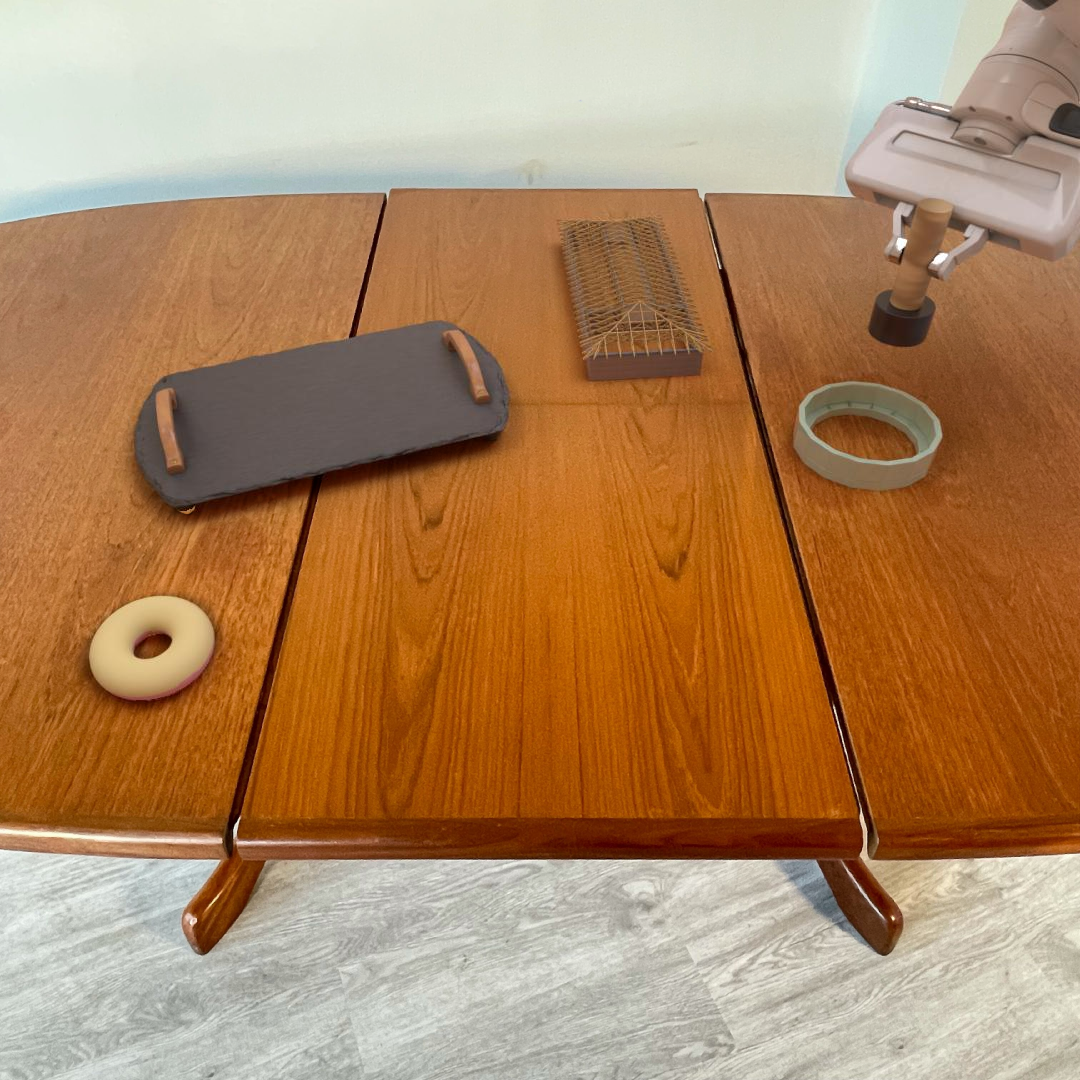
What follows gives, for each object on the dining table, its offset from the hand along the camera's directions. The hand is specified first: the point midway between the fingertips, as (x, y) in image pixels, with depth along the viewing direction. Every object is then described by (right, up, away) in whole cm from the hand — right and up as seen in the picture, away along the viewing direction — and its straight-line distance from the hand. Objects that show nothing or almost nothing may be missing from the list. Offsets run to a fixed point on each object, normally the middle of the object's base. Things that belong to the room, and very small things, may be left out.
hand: (913, 268), depth 76 cm
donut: (-64, -33, -4) cm, 72 cm away
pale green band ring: (-1, -16, +12) cm, 20 cm away
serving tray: (-55, -11, +18) cm, 59 cm away
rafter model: (-22, +6, +35) cm, 42 cm away
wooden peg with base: (+1, -4, +5) cm, 7 cm away
